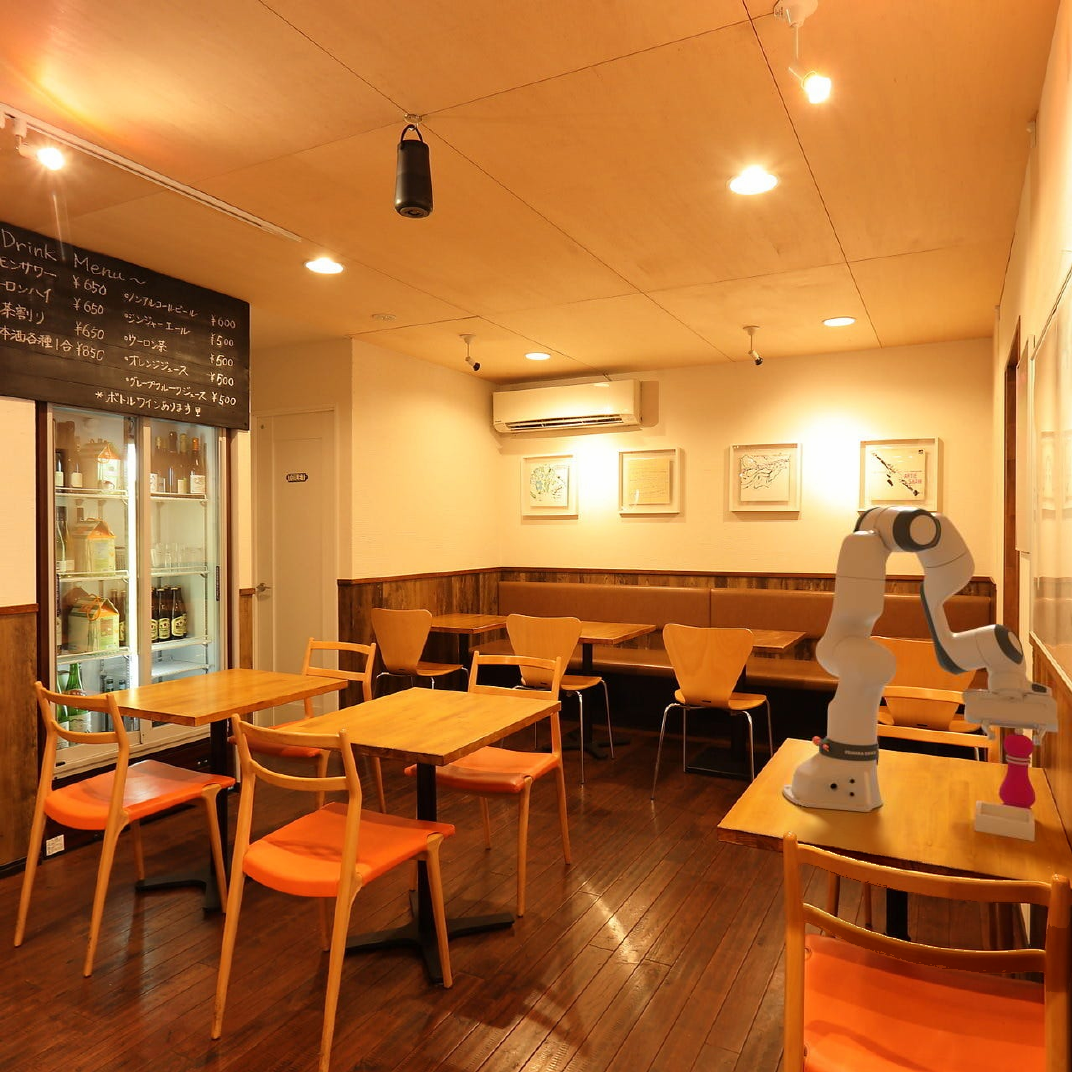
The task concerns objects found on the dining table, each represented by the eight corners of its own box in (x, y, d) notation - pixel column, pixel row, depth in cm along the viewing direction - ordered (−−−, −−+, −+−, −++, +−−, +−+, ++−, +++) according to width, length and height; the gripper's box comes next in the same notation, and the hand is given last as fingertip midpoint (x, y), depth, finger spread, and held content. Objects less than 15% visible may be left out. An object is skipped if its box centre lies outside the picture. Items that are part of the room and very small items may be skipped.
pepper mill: (1040, 821, 182) (1043, 732, 182) (1005, 818, 184) (1007, 730, 184) (1027, 811, 189) (1030, 725, 189) (993, 808, 191) (996, 722, 191)
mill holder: (974, 830, 175) (974, 814, 175) (976, 815, 185) (976, 800, 185) (1034, 841, 170) (1034, 824, 170) (1032, 825, 179) (1033, 809, 179)
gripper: (962, 680, 202) (966, 728, 193) (1059, 688, 194) (1067, 739, 185) (960, 695, 206) (963, 743, 197) (1054, 704, 198) (1062, 753, 189)
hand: (1014, 741), depth 191 cm, fingers open, 8 cm apart
